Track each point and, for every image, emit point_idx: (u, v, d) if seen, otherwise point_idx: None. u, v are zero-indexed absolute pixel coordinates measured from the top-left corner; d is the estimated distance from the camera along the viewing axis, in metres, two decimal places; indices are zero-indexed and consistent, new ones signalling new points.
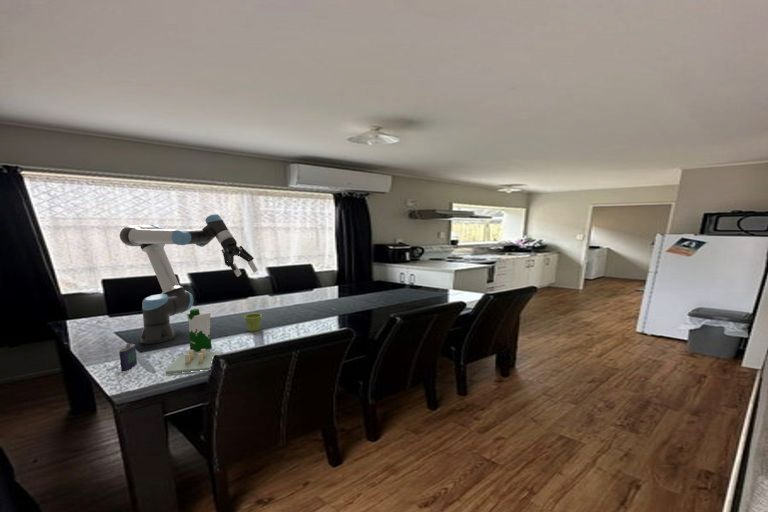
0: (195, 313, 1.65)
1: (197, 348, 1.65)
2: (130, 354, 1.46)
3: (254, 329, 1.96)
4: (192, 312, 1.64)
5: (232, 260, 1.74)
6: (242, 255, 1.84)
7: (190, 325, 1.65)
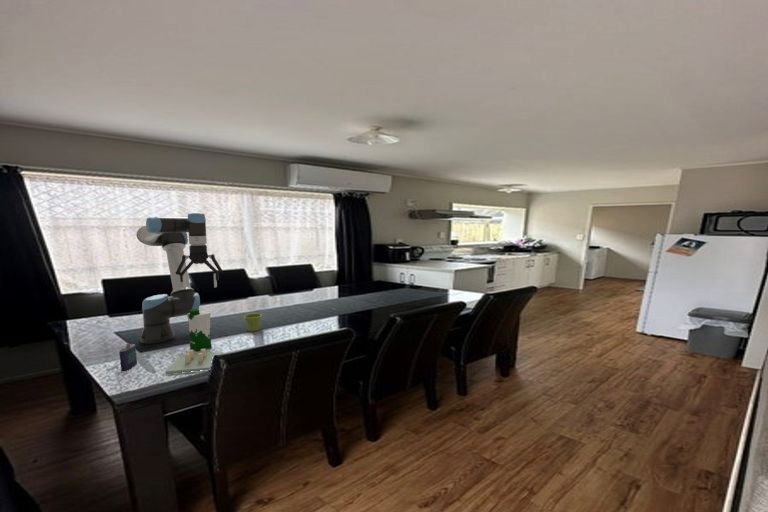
0: (195, 313, 1.65)
1: (197, 348, 1.65)
2: (130, 354, 1.46)
3: (254, 329, 1.96)
4: (192, 312, 1.64)
5: (183, 271, 1.64)
6: None
7: (190, 325, 1.65)
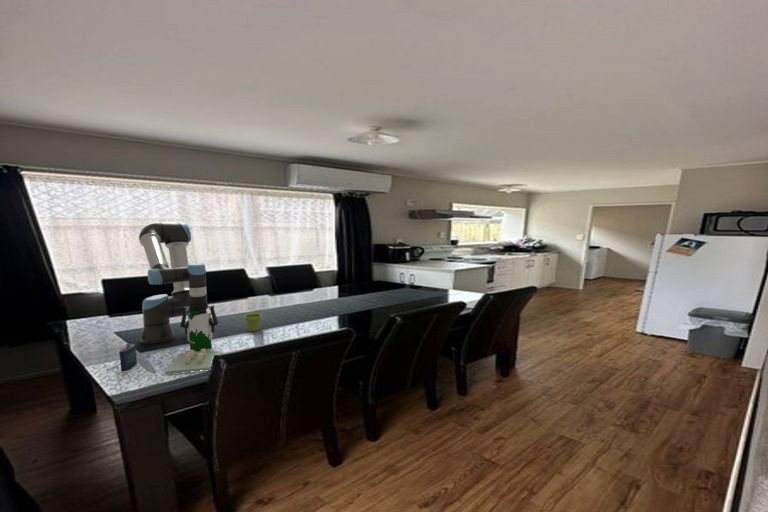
0: (195, 313, 1.65)
1: (197, 348, 1.65)
2: (130, 354, 1.46)
3: (254, 329, 1.96)
4: (192, 312, 1.64)
5: (187, 324, 1.66)
6: None
7: (190, 325, 1.65)
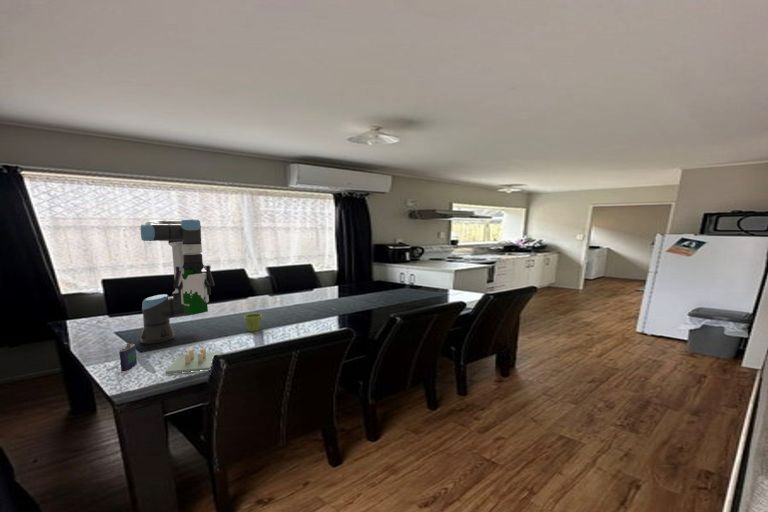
0: (190, 272, 1.51)
1: (192, 311, 1.51)
2: (130, 354, 1.46)
3: (254, 329, 1.96)
4: (186, 271, 1.50)
5: (181, 285, 1.52)
6: None
7: (184, 286, 1.51)
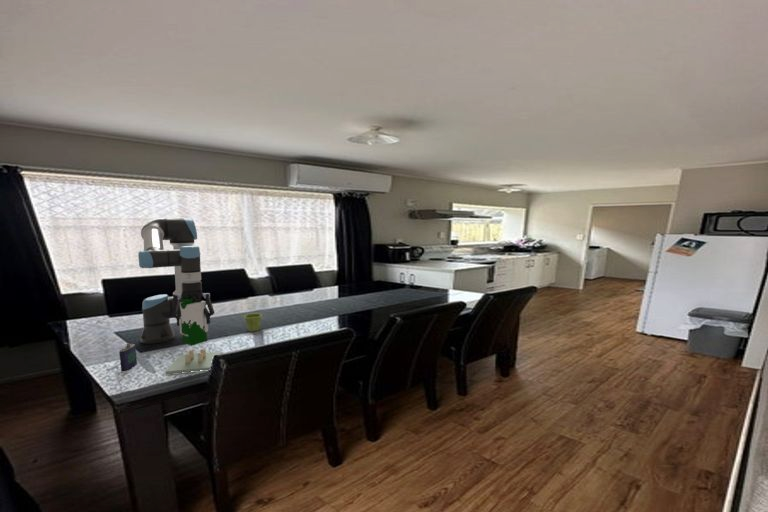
0: (188, 301, 1.45)
1: (191, 341, 1.45)
2: (130, 354, 1.46)
3: (254, 329, 1.96)
4: (185, 300, 1.45)
5: (179, 314, 1.47)
6: None
7: (183, 315, 1.45)
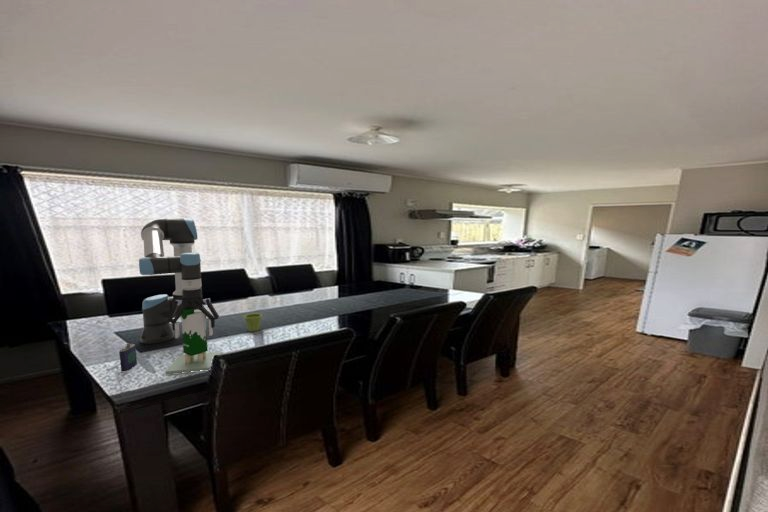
0: (189, 312, 1.46)
1: (191, 352, 1.46)
2: (130, 354, 1.46)
3: (254, 329, 1.96)
4: (186, 311, 1.45)
5: (175, 319, 1.46)
6: None
7: (183, 326, 1.46)
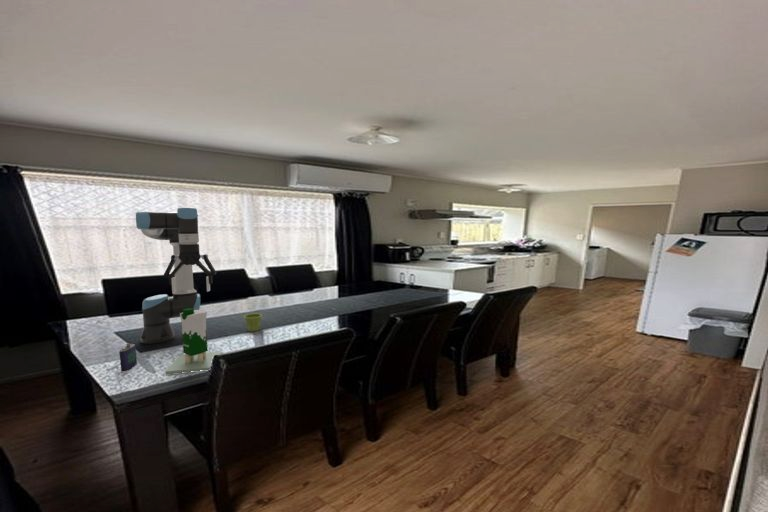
0: (189, 312, 1.46)
1: (191, 352, 1.46)
2: (130, 354, 1.46)
3: (254, 329, 1.96)
4: (185, 311, 1.45)
5: (172, 273, 1.46)
6: None
7: (183, 326, 1.46)
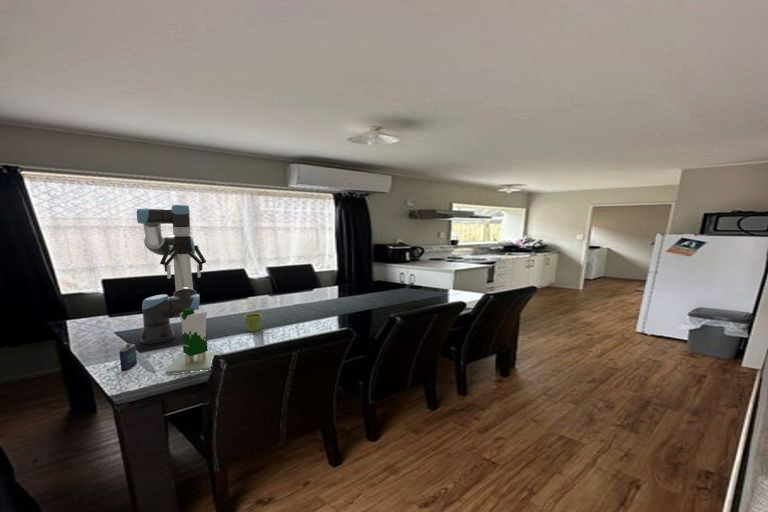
0: (189, 312, 1.46)
1: (191, 352, 1.46)
2: (130, 354, 1.46)
3: (254, 329, 1.96)
4: (185, 311, 1.45)
5: (167, 261, 1.68)
6: None
7: (183, 326, 1.46)
